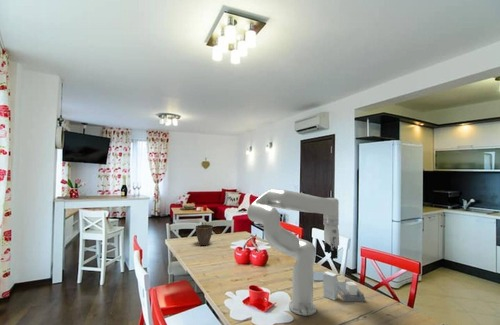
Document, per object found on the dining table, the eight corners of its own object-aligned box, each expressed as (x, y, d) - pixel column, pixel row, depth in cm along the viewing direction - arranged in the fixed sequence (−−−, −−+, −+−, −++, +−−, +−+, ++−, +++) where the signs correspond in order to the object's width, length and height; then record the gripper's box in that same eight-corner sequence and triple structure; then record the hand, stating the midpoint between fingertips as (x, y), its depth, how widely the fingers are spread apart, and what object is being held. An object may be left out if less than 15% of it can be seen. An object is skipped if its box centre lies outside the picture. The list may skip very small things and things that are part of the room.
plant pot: (191, 245, 217) (191, 226, 218) (204, 241, 229) (204, 223, 229) (203, 248, 208) (203, 229, 209) (216, 244, 220) (216, 226, 220)
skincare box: (338, 298, 129) (338, 273, 130) (334, 301, 126) (334, 276, 126) (326, 293, 133) (326, 270, 134) (322, 296, 130) (322, 272, 130)
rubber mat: (334, 281, 149) (334, 280, 149) (314, 281, 148) (314, 280, 148) (327, 273, 161) (327, 272, 161) (308, 273, 160) (308, 272, 160)
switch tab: (357, 295, 128) (357, 285, 128) (349, 295, 128) (349, 285, 128) (353, 291, 132) (353, 281, 132) (345, 291, 132) (345, 281, 132)
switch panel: (364, 301, 126) (364, 294, 126) (344, 301, 126) (344, 294, 126) (349, 285, 144) (349, 279, 144) (332, 285, 144) (332, 279, 144)
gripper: (344, 225, 123) (344, 261, 122) (332, 218, 140) (332, 250, 139) (329, 225, 122) (329, 260, 122) (318, 218, 140) (318, 249, 139)
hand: (330, 255), depth 131 cm, fingers open, 9 cm apart
